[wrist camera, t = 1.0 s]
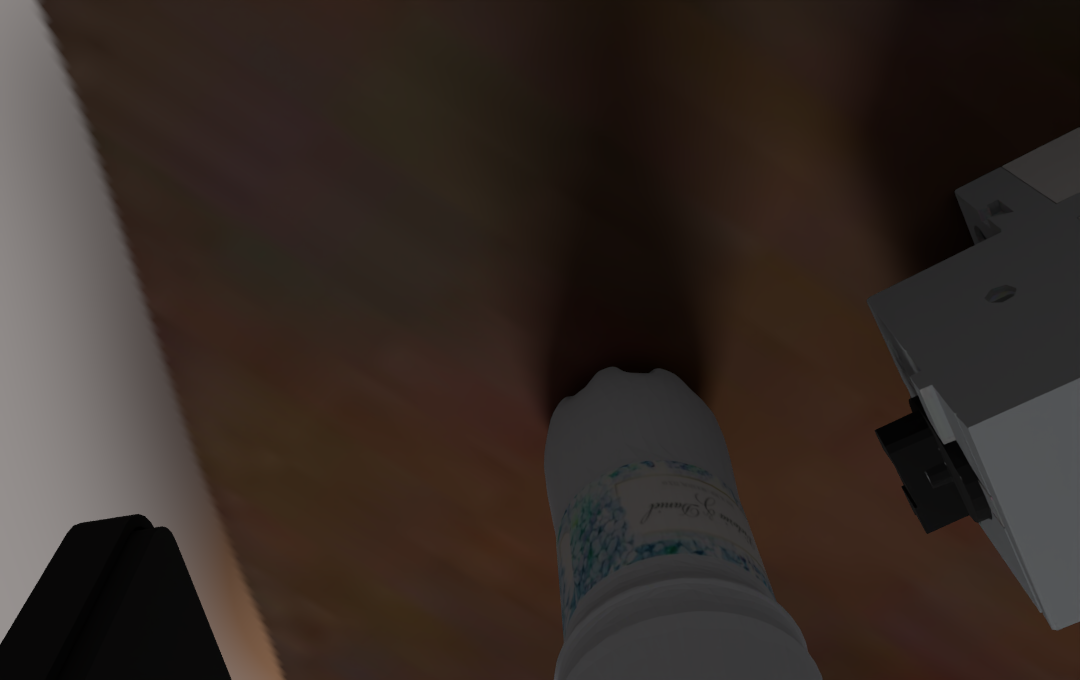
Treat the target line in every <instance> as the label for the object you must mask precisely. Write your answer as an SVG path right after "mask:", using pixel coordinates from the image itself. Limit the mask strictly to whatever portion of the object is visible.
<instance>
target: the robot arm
mask: <svg viewBox="0 0 1080 680" xmlns="http://www.w3.org/2000/svg"><path fill="white" fill-rule="evenodd" d="M0 680H231V677H230V675H229V672H228V670H227V667H226V665H225V662H224V660H223V657H222V655H221V652H220V650H219V647H218V645H217V642H216V640H215V637H214V635H213V632H212V630H211V628H210V625H209V622H208V620H207V617H206V615H205V612H204V610H203V608H202V605H201V602H200V600H199V597H198V595H197V592H196V590H195V587H194V585H193V583H192V580H191V577H190V575H189V572H188V570H187V568H186V565H185V562H184V560H183V558H182V555H181V553H180V550H179V547H178V545H177V543H176V540H175V538H174V536H173V534H172V532H171V531H170V530H169V529H168V528H166V527H156V528H154V527H153V525H152V523H151V522H150V521H149V520H148V519H147V518H146V517H145V516H142V515H139V514H135V515H129V516H123V517H116V518H110V519H103V520H98V521H90V522H84V523H79V524H77V525H74V526H73V527H72V528H71V529H70V530H69V532H68V533H67V534H66V536H65V538H64V539H63V541H62V543H61V544H60V546H59V548H58V549H57V551H56V553H55V554H54V556H53V558H52V559H51V561H50V563H49V564H48V566H47V568H46V569H45V571H44V573H43V574H42V576H41V578H40V579H39V581H38V583H37V584H36V586H35V588H34V589H33V591H32V593H31V594H30V596H29V598H28V599H27V601H26V603H25V604H24V606H23V608H22V609H21V611H20V613H19V614H18V616H17V618H16V619H15V621H14V623H13V624H12V626H11V628H10V629H9V631H8V633H7V634H6V636H5V638H4V639H3V641H2V643H1V644H0Z"/></svg>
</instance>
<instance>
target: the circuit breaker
mask: <svg viewBox="0 0 1080 680" xmlns="http://www.w3.org/2000/svg"><path fill="white" fill-rule="evenodd" d="M955 195H956V198H957V200H958V203H959V205H960V208H961V211H962V213H963V216H964V218H965V221H966V224H967V226H968V229H969V231H970V234H971V237H972V239H973V242H974V244H975V245H974V246H972V247H970V248H968V249H966V250H964V251H962V252H960V253H958V254H956V255H954V256H952V257H950V258H948V259H946V260H944V261H942V262H940V263H938V264H936V265H934V266H932V267H930V268H928V269H926V270H924V271H922V272H919V273H917V274H915V275H913V276H911V277H909V278H907V279H905V280H903V281H901V282H899V283H897V284H895V285H893V286H891V287H889V288H887V289H885V290H883V291H881V292H879V293H877V294H875V295H873V296H871V297H869V298H868V299H867V303H868V305H869V307H870V309H871V311H872V314H873V316H874V318H875V320H876V322H877V325H878V327H879V329H880V331H881V333H882V336H883V338H884V340H885V342H886V344H887V347H888V349H889V351H890V353H891V355H892V357H893V360H894V362H895V364H896V366H897V368H898V371H899V373H900V375H901V377H902V379H903V382H904V383H905V385H906V386H907V388H908V390H909V393H910V395H911V396H910V397H911V399H909V404H910V407H911V410H912V413H911V414H909V415H907V416H904V417H902V418H900V419H898V420H896V421H894V422H892V423H889V424H887V425H885V426H883V427H881V428H879V429H877V430H875V432H876V435H877V437H878V439H879V441H880V443H881V445H882V447H883V449H884V451H885V453H886V454H887V455H888V457H889V458H890V460H891V461H892V463H893V464H894V466H895V468H896V470H897V472H898V474H899V476H900V478H901V480H902V482H903V484H904V485H903V486H901V487H902V489H903V491H904V493H905V495H906V497H907V499H908V501H909V503H910V506H911V508H912V510H913V512H914V513H915V515H917V517H918V519H919V520H920V522H921V524H922V526H923V528H924V530H925V532H926V533H927V534H928V533H930V532H932V531H935V530H937V529H939V528H941V527H944V526H946V525H948V524H950V523H952V522H955V521H957V520H959V519H961V518H964V517H966V516H968V515H970V516H971V517H972V519H973V520H974V521H975V522H977V523H979V524H980V526H981V527H982V529H983V530H984V532H985V533H986V534H987V536H988V537H989V539H990V540H991V542H992V543H993V545H994V546H995V548H996V549H997V550H998V552H999V553H1000V555H1001V556H1002V558H1003V559H1004V561H1005V562H1006V563H1007V565H1008V566H1009V568H1010V569H1011V571H1012V572H1013V574H1014V575H1015V577H1016V578H1017V579H1018V581H1019V582H1020V584H1021V585H1022V587H1023V588H1024V590H1025V591H1026V593H1027V594H1028V595H1029V597H1030V598H1031V600H1032V601H1033V603H1034V604H1035V606H1036V607H1037V608H1038V610H1039V611H1040V613H1041V612H1043V614H1044V616H1045V618H1046V620H1047V621H1048V623H1049V625H1050V626H1051V628H1052V629H1054V630H1059V629H1062V628H1064V627H1067V626H1069V625H1072V624H1074V623H1077V622H1079V621H1080V127H1079V128H1077V129H1075V130H1073V131H1071V132H1069V133H1067V134H1065V135H1063V136H1061V137H1059V138H1057V139H1055V140H1053V141H1051V142H1049V143H1047V144H1045V145H1043V146H1041V147H1039V148H1037V149H1035V150H1033V151H1031V152H1029V153H1027V154H1025V155H1023V156H1021V157H1019V158H1017V159H1015V160H1013V161H1011V162H1009V163H1007V164H1005V165H1003V166H1002V167H999V168H997V169H995V170H993V171H991V172H989V173H987V174H985V175H983V176H981V177H980V178H978V179H976V180H974V181H972V182H970V183H968V184H966V185H964V186H962V187H960V188H958V189H956V190H955Z"/></svg>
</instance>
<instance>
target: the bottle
mask: <svg viewBox="0 0 1080 680" xmlns="http://www.w3.org/2000/svg"><path fill="white" fill-rule="evenodd" d="M544 469H545V477H546V485H547V494H548V499H549V504H550V509H551V514H552V519H553V524H554V528H555V533H556V546H557V558H558V571H559V584H560V596H561V609H562V621H563V634H564V645H563V647H562V649H561V651H560V654H559V657H558V659H557V664H556V670H555V676H554V680H822V676H821V674H820V671H819V669H818V667H817V665H816V663H815V662H814V660H813V659H812V657H811V656H810V655H809V653H808V651H807V646H806V642H805V639H804V637H803V635H802V632H801V630H800V628H799V627H798V625H797V624H796V623H795V621H794V620H793V618H792V617H791V616H790V614H789V613H788V612H787V611H786V610H785V609H784V608H783V607H782V606H781V605H780V604H778V603H777V602H776V599H775V596H774V593H773V591H772V588H771V585H770V582H769V580H768V577H767V574H766V571H765V568H764V566H763V563H762V560H761V557H760V555H759V552H758V549H757V546H756V543H755V541H754V538H753V535H752V532H751V529H750V527H749V524H748V521H747V518H746V516H745V513H744V510H743V508H742V505H741V503H740V500H739V496H738V492H737V487H736V483H735V478H734V474H733V469H732V465H731V460H730V457H729V453H728V450H727V446H726V443H725V439H724V436H723V434H722V432H721V429H720V427H719V425H718V422H717V420H716V418H715V416H714V414H713V412H712V411H711V410H710V409H709V408H708V406H707V405H706V404H705V403H704V402H703V401H702V399H701V398H700V397H698V396H697V395H696V394H695V393H694V392H693V391H692V390H691V389H690V388H689V387H688V386H687V385H686V384H685V383H684V382H683V381H682V380H681V379H680V378H679V377H678V376H677V375H676V374H673V373H671V372H669V371H667V370H664V369H661V368H657V369H654V370H652V371H651V372H650V373H628V372H624V371H622V370H620V369H619V368H617V367H608V368H605V369H603V370H600V371H598V372H597V373H596V374H595V375H594V377H593V378H592V379H591V381H590V382H589V383H588V384H587V386H586V387H585V388H583V389H582V390H581V391H579V392H578V393H577V394H576V395H574V396H570V397H565V398H564V399H563V400H561V401H560V403H559V404H558V406H557V407H556V409H555V411H554V413H553V415H552V417H551V421H550V425H549V430H548V435H547V441H546V446H545V458H544Z"/></svg>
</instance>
